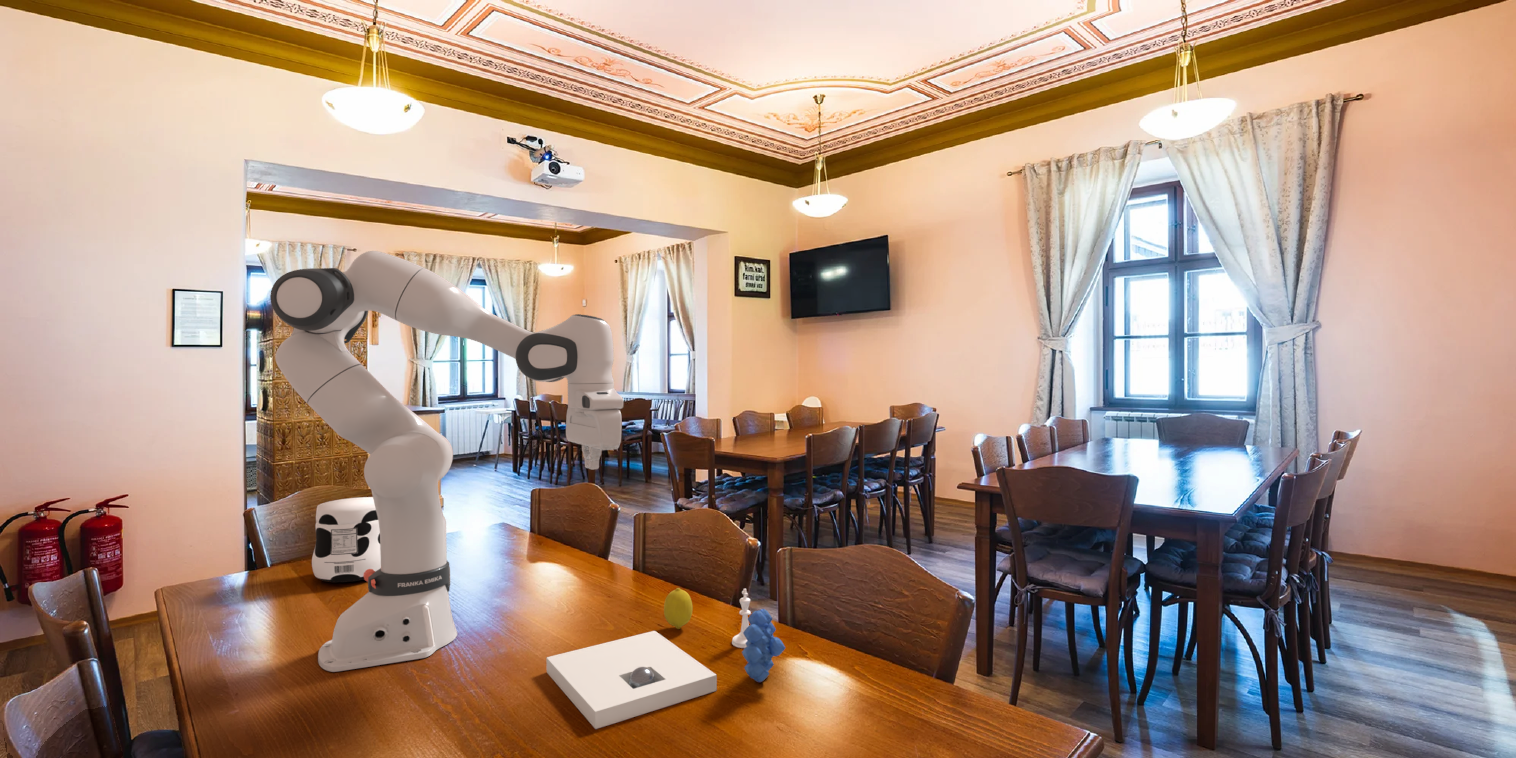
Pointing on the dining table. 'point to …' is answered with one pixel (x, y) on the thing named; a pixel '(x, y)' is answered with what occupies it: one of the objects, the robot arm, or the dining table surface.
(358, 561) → the milk container
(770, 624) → the grapes
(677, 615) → the lemon
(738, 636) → the chess piece
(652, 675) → the steel ball
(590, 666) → the hole board
